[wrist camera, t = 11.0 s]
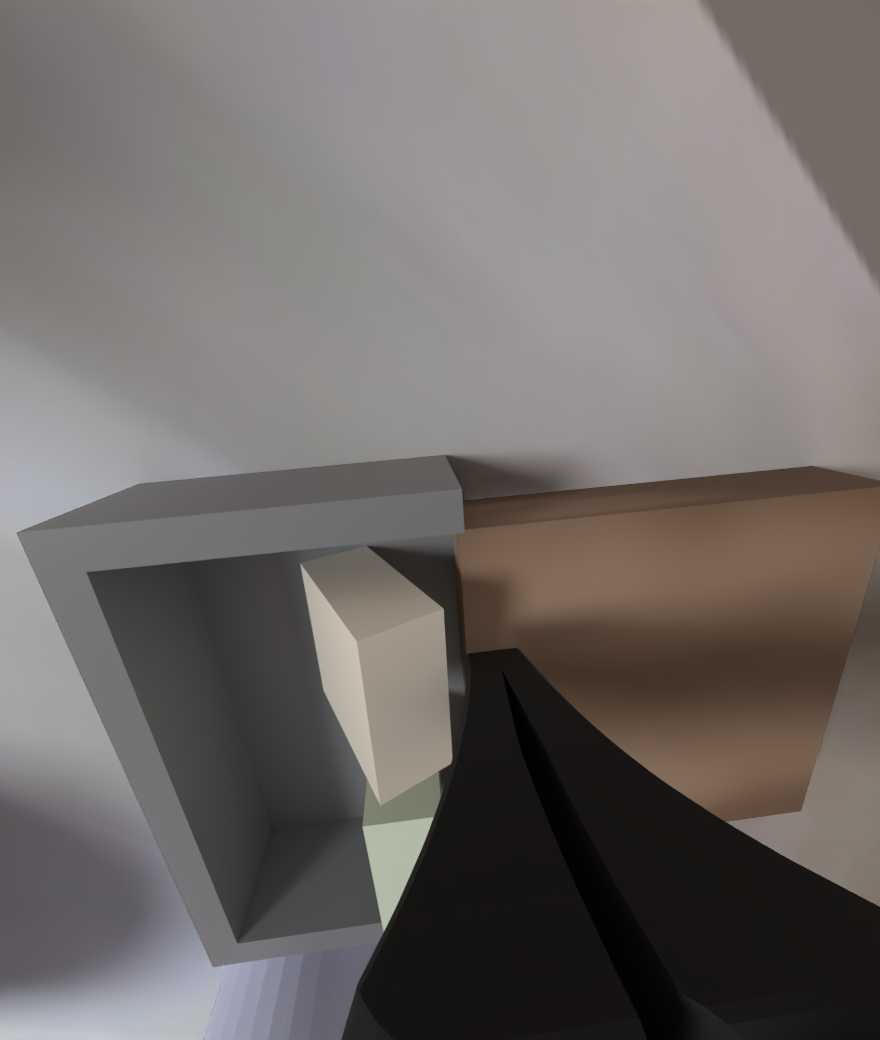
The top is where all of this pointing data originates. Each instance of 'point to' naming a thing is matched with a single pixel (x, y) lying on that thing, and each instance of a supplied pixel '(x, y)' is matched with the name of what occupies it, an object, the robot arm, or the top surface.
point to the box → (244, 679)
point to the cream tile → (381, 667)
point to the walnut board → (683, 617)
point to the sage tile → (397, 838)
